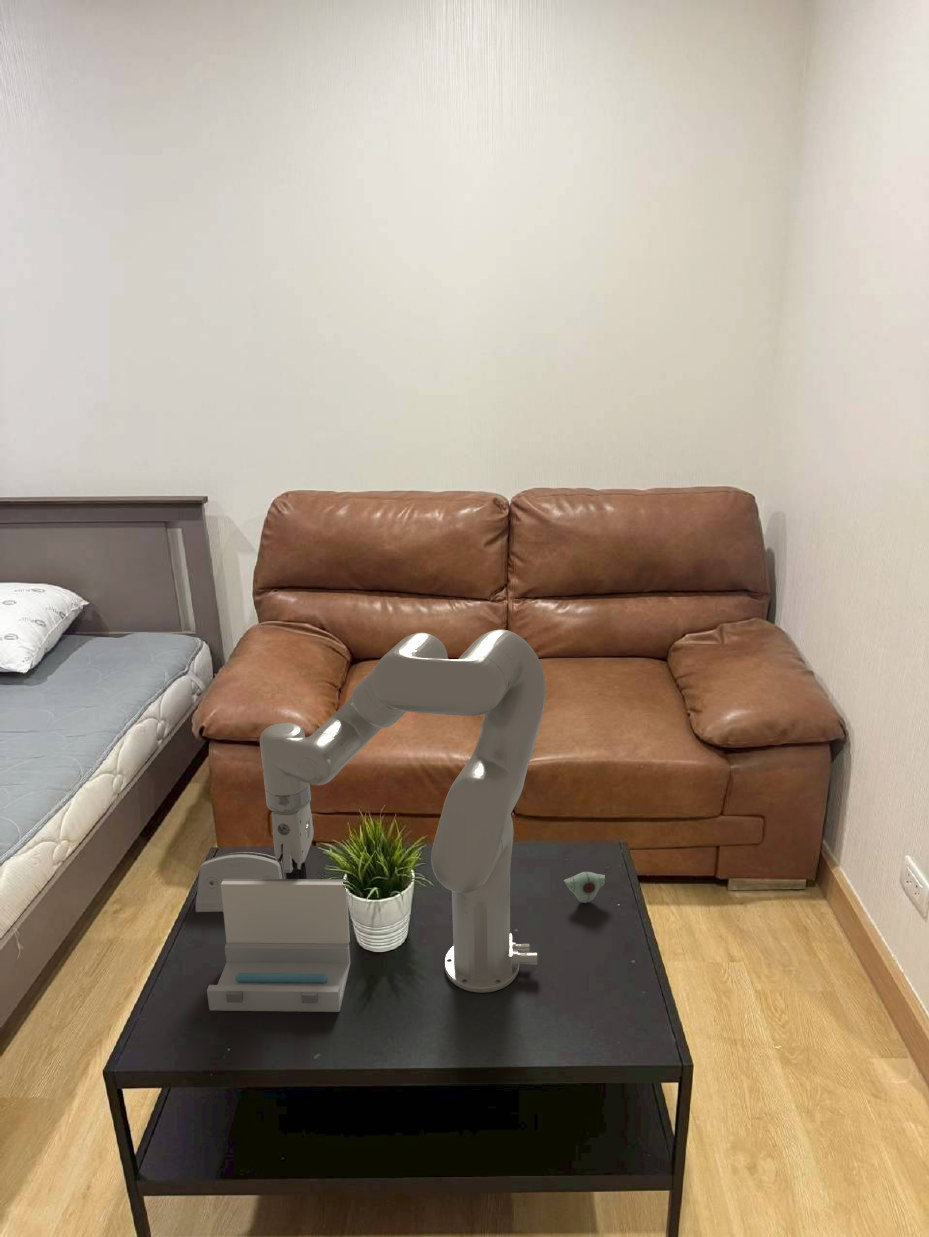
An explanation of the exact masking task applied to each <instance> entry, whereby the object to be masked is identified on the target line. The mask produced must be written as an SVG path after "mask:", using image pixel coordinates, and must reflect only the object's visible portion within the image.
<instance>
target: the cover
mask: <svg viewBox="0 0 929 1237" xmlns="http://www.w3.org/2000/svg"><path fill="white" fill-rule="evenodd" d="M343 881H345V879H340V878H339V879H333V878H332V879H329V878H328V879H326V878H325V879H323V878H322V879H320V878H318V879H317V878H316V879H313V878H311V879H308V878H307V879H286V878H285V879H223V881H222V883H221V892H222V902H223V911H222V913H223V919H224V920H223V922H224V932H225V941H226V942H225V944H226V943H264V944H349V945H350V942H351V939H350V938H351V936H350V921H349V920H350V918H349V915H350V914H349V902H348V901H349V900H348V899H347V898H348V891H347V892H346V889H345V888H346V886H345V885H344V887H345V888H344V887H343Z"/></svg>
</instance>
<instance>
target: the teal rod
mask: <svg viewBox="0 0 929 1237" xmlns="http://www.w3.org/2000/svg"><path fill="white" fill-rule="evenodd" d="M235 980H236V981H237V982H289V983H325V982H326V981H327V980H328V976H327V975H326V974H302V973H238V974H236V976H235Z"/></svg>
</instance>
